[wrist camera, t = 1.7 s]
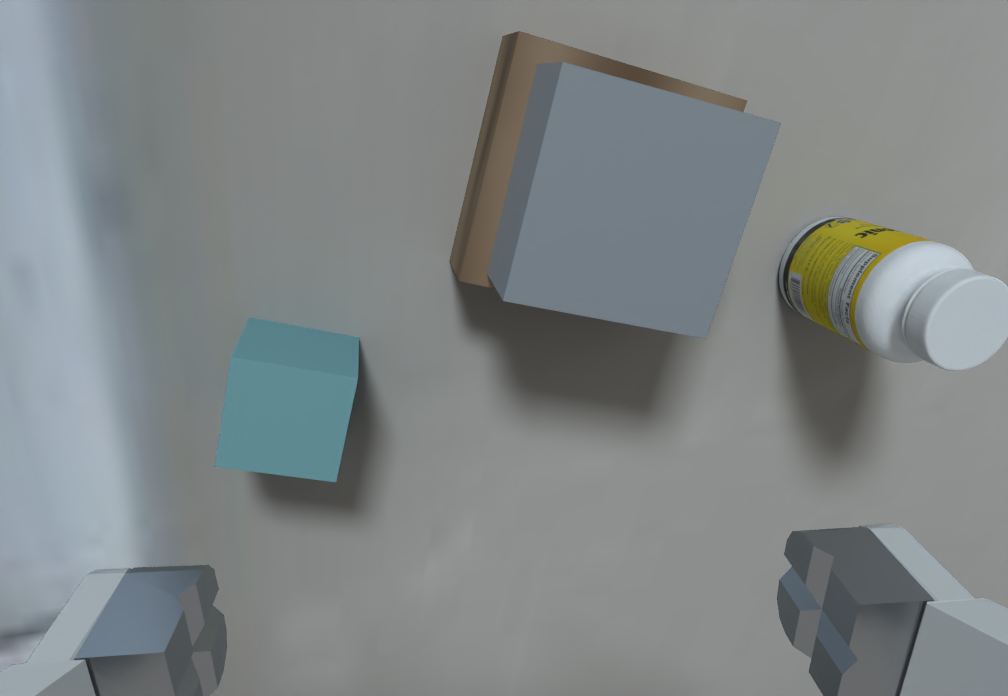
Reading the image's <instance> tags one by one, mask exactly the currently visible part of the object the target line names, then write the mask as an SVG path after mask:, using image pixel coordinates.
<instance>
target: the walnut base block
mask: <svg viewBox="0 0 1008 696" xmlns="http://www.w3.org/2000/svg"><path fill="white" fill-rule="evenodd" d="M555 62H565V63H568V64H572V65H576V66H579V67H583V68H586V69H590V70H594V71H597V72H601V73H604V74H608V75H611V76H615V77H619V78H622V79H626V80H629V81H633V82H637V83H640V84H644V85H647V86H651V87H654V88H658V89H662V90H665V91H669V92H672V93H676V94H680V95H683V96H687V97H690V98H694V99H697V100H701V101H705V102H708V103H712V104H715V105H719V106H723V107H726V108H730V109H733V110H737V111H740V112H743V111H744V109H745V106H746V103H747V101H746V100H743V99H740V98H737V97H733V96H730V95H727V94H723V93H720V92H717V91H714V90H710V89H707V88H704V87H700V86H697V85H694V84H691V83H687V82H684V81H681V80H678V79H674V78H671V77H668V76H664V75H661V74H658V73H655V72H651V71H648V70H645V69H642V68H638V67H635V66H632V65H628V64H625V63H622V62H619V61H615V60H612V59H609V58H606V57H602V56H599V55H596V54H592V53H589V52H586V51H583V50H579V49H576V48H573V47H569V46H566V45H563V44H560V43H556V42H553V41H550V40H547V39H543V38H540V37H537V36H533V35H530V34H527V33H524V32H520V31H519V32H515V33H512V34H508V35H505V36H503V37H502V41H501V45H500V49H499V54H498V58H497V62H496V66H495V71H494V75H493V79H492V83H491V87H490V92H489V96H488V100H487V104H486V109H485V113H484V117H483V121H482V126H481V130H480V134H479V138H478V142H477V147H476V151H475V155H474V159H473V164H472V168H471V172H470V176H469V180H468V185H467V189H466V193H465V197H464V202H463V206H462V210H461V214H460V218H459V223H458V227H457V231H456V235H455V240H454V244H453V248H452V252H451V256H450V263H451V265H452V268H453V270H454V272H455V274H456V276H457V279H458V281H460V282H465V283H470V284H475V285H480V286H485V287H489V288H494V289H496V288H495V286H494V285H493V283H492V281H491V280H490V278H489V276H488V275H487V271H488V267H489V263H490V259H491V254H492V250H493V246H494V242H495V238H496V234H497V229H498V225H499V221H500V217H501V213H502V208H503V204H504V200H505V196H506V192H507V187H508V183H509V179H510V175H511V171H512V166H513V162H514V158H515V154H516V150H517V145H518V141H519V137H520V133H521V129H522V124H523V120H524V116H525V112H526V108H527V104H528V99H529V95H530V91H531V87H532V83H533V78H534V74H535V70H536V66H537V64H541V63H555Z"/></svg>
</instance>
